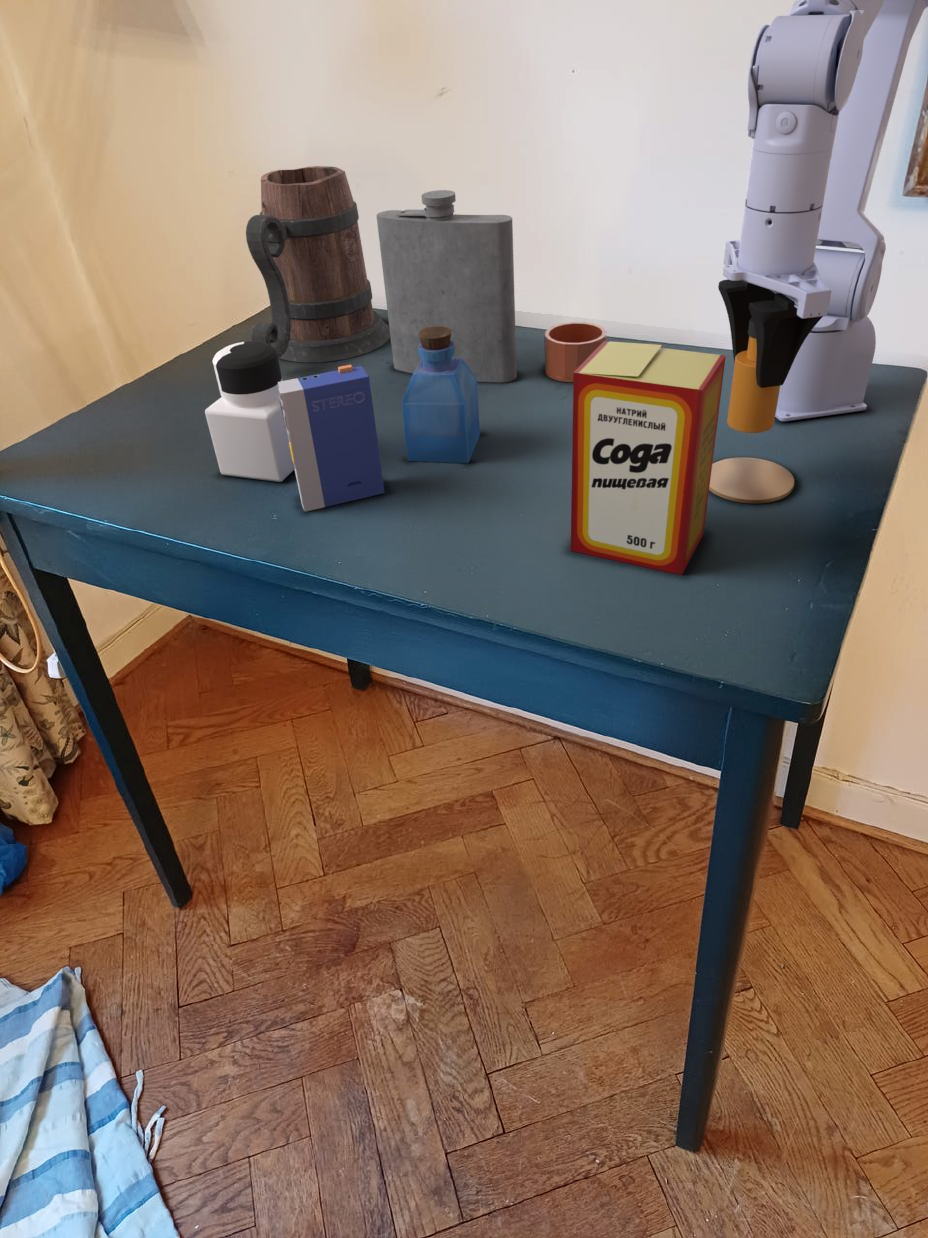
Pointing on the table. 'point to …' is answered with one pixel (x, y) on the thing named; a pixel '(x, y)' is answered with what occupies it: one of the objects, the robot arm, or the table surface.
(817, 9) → the robot arm
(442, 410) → the perfume bottle
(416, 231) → the hip flask
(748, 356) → the bottle
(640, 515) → the baking soda box
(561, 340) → the cup
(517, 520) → the table surface
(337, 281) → the tankard
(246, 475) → the medicine bottle
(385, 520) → the table surface
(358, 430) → the walkman
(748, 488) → the coaster
